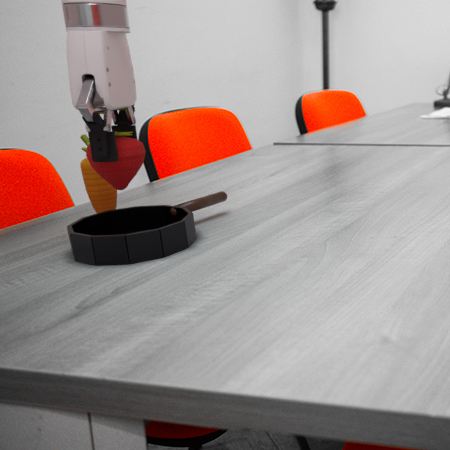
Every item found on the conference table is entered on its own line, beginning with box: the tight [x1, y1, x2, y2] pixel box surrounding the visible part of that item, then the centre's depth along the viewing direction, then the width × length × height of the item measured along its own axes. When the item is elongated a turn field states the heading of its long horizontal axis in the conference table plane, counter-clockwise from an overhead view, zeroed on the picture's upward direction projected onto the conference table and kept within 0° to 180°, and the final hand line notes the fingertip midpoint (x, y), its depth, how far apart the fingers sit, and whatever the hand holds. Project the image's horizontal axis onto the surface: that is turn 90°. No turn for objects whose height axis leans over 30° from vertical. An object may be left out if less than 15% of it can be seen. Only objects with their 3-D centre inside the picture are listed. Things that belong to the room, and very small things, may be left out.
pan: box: [66, 190, 228, 266], centre depth 87 cm, size 27×16×4 cm, turn 153°
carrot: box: [79, 133, 118, 214], centre depth 92 cm, size 5×5×15 cm
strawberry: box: [85, 132, 147, 191], centre depth 79 cm, size 6×8×10 cm
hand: (116, 156), depth 79 cm, fingers closed on strawberry, 6 cm apart
